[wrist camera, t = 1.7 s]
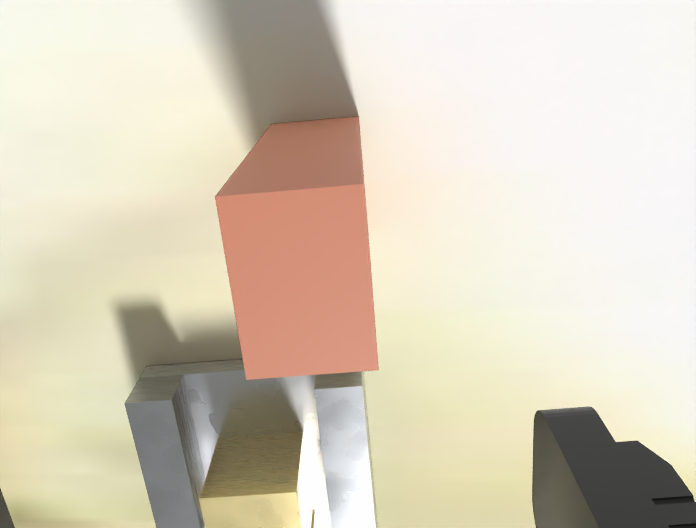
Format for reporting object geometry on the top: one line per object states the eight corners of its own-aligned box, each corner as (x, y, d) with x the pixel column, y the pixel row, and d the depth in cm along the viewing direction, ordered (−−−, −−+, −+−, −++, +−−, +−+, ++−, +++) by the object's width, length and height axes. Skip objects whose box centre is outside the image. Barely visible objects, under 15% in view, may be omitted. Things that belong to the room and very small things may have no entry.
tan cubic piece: (303, 431, 29) (296, 492, 25) (312, 499, 30) (307, 566, 27) (218, 437, 29) (198, 498, 25) (231, 505, 31) (215, 572, 27)
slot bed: (361, 350, 29) (362, 386, 26) (384, 605, 34) (387, 656, 32) (146, 366, 29) (124, 403, 26) (205, 615, 35) (192, 667, 32)
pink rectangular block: (358, 115, 25) (363, 184, 15) (368, 235, 27) (378, 369, 16) (271, 124, 25) (214, 196, 15) (286, 242, 27) (246, 379, 16)
